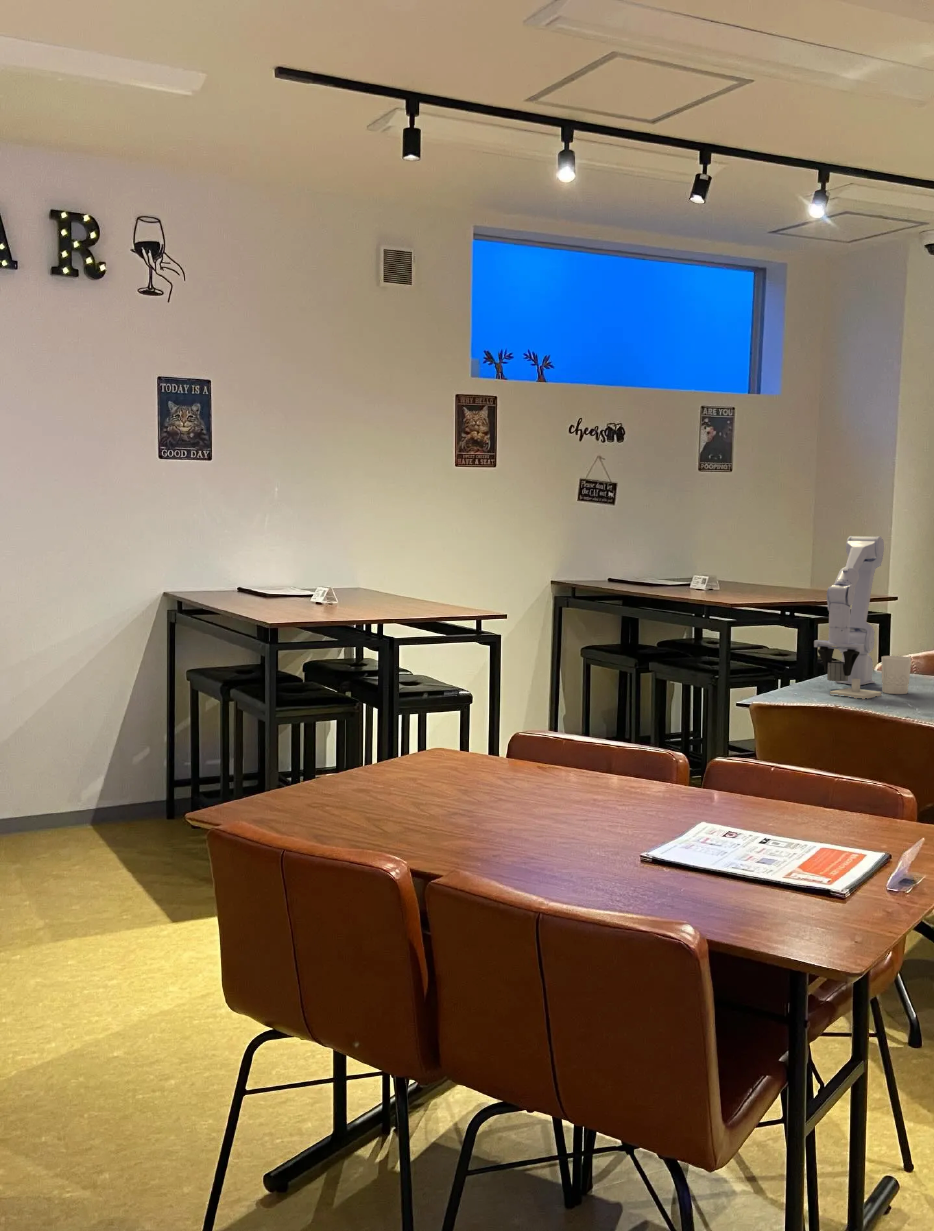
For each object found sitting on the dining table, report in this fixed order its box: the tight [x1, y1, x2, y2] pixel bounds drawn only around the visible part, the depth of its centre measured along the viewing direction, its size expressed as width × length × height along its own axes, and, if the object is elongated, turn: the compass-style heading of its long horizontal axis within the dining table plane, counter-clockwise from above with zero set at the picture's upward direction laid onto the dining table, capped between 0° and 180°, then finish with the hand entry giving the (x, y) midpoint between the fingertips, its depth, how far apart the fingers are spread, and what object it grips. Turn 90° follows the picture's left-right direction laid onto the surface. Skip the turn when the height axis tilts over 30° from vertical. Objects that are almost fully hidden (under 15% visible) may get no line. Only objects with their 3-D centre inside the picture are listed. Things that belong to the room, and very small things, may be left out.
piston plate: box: [829, 679, 882, 700], centre depth 332 cm, size 10×10×4 cm
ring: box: [826, 660, 848, 682], centre depth 343 cm, size 6×6×5 cm
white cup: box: [880, 655, 912, 695], centre depth 337 cm, size 8×8×10 cm
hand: (837, 674), depth 343 cm, fingers closed on ring, 6 cm apart
